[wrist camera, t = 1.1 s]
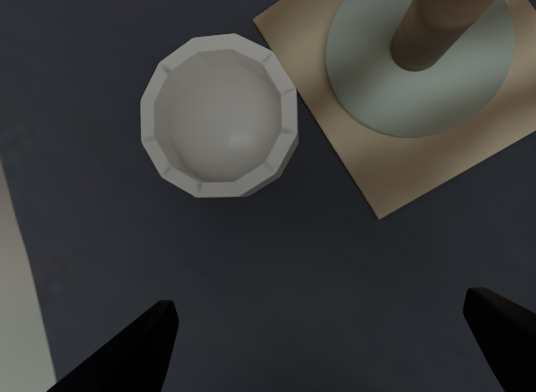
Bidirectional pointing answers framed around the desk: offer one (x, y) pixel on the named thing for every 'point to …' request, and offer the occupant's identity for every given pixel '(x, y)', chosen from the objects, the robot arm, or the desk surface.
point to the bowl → (220, 117)
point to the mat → (394, 148)
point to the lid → (418, 61)
